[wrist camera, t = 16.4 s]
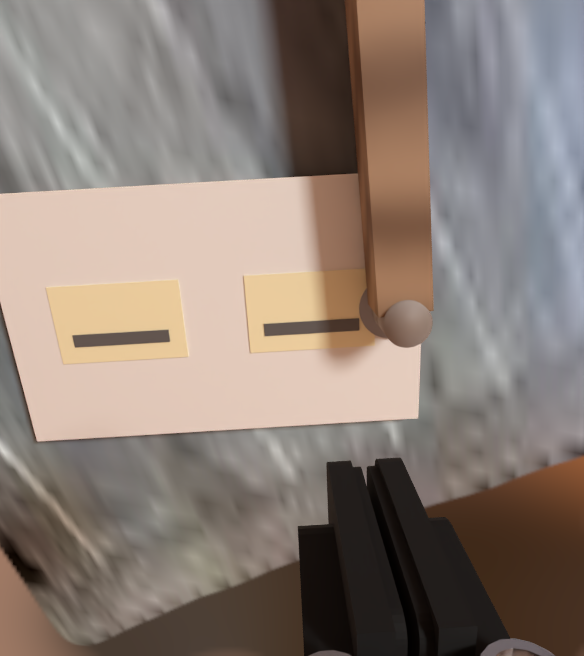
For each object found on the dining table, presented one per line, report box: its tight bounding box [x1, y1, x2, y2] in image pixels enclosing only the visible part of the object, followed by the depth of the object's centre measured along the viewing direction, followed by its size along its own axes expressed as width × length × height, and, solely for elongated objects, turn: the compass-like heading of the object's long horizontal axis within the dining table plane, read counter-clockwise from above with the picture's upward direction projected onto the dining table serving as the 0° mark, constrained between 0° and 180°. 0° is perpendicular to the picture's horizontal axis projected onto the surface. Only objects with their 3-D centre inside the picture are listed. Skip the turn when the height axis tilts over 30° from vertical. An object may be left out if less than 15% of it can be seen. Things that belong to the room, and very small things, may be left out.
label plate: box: [0, 173, 421, 441], centre depth 27 cm, size 26×16×2 cm, turn 93°
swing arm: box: [345, 0, 433, 348], centre depth 22 cm, size 24×3×3 cm, turn 7°
